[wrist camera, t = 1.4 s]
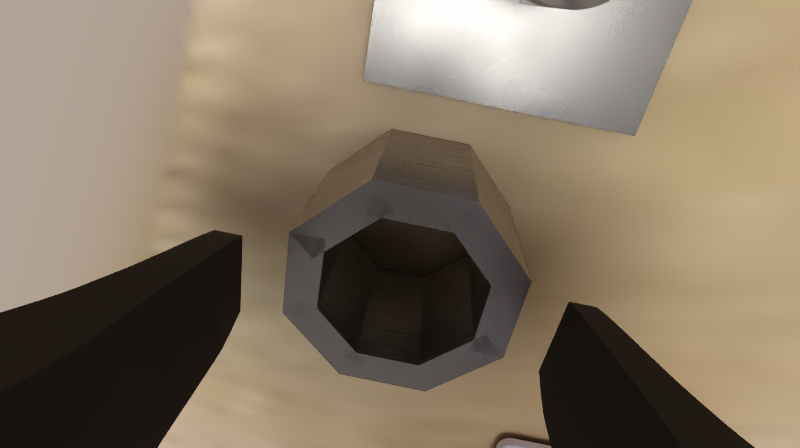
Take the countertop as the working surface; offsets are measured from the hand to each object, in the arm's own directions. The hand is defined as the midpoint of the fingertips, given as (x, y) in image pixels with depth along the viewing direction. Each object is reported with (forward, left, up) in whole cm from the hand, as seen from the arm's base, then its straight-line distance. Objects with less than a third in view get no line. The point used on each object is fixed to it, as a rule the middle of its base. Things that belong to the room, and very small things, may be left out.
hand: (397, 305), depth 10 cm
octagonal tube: (0, 0, -4) cm, 4 cm away
